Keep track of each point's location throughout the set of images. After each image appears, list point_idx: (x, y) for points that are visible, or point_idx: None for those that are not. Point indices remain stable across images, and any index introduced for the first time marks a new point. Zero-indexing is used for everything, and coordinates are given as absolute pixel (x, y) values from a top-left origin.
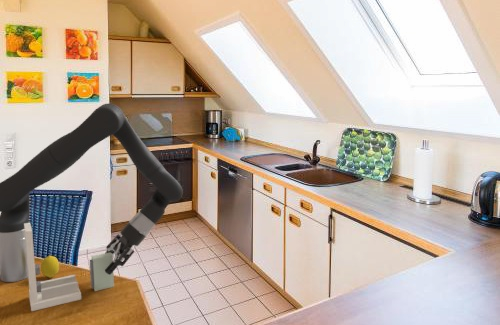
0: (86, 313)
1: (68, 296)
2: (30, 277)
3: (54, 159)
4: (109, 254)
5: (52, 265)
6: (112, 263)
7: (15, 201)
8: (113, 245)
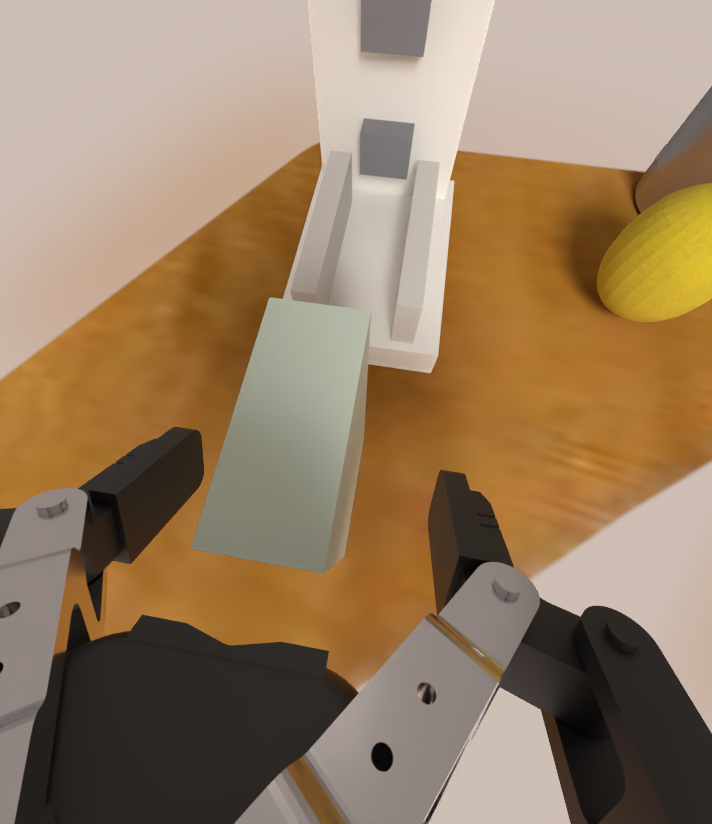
0: (140, 329)
1: (288, 282)
2: None
3: None
4: (257, 518)
5: (638, 241)
6: (102, 486)
7: None
8: (373, 701)
